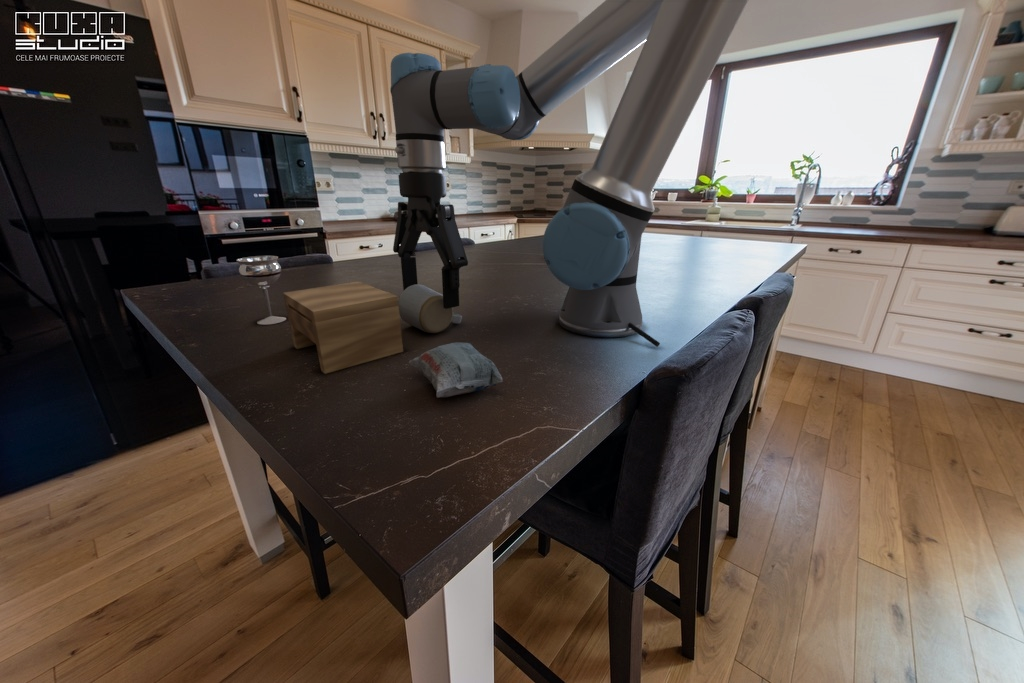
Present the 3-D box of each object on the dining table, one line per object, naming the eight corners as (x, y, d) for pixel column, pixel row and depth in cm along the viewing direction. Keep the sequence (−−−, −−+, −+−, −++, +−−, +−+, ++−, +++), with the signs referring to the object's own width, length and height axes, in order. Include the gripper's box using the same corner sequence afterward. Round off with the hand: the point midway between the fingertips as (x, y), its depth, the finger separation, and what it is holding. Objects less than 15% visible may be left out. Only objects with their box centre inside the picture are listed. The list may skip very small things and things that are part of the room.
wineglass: (268, 314, 81) (254, 255, 76) (298, 316, 80) (286, 256, 75) (242, 325, 74) (226, 261, 70) (275, 326, 73) (261, 262, 69)
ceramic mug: (421, 339, 67) (418, 295, 64) (398, 328, 73) (395, 286, 70) (471, 327, 74) (470, 286, 71) (446, 317, 79) (445, 279, 77)
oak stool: (403, 351, 62) (397, 296, 59) (324, 374, 55) (313, 311, 51) (365, 330, 72) (358, 281, 69) (294, 346, 64) (282, 292, 61)
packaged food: (437, 414, 45) (435, 374, 43) (409, 374, 54) (406, 341, 53) (505, 397, 49) (505, 360, 47) (467, 363, 58) (467, 331, 57)
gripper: (366, 172, 70) (379, 289, 78) (446, 168, 53) (452, 319, 61) (404, 173, 75) (413, 283, 82) (489, 171, 58) (489, 310, 65)
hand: (429, 299), depth 72 cm, fingers open, 13 cm apart
